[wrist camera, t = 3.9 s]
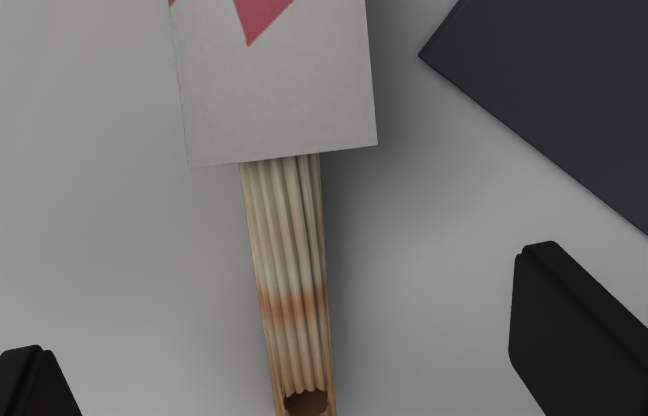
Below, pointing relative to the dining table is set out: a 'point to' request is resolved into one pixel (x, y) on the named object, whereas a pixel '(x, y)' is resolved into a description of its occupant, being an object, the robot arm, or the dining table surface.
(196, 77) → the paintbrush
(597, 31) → the placemat
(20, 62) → the dining table surface
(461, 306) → the dining table surface
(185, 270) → the dining table surface
